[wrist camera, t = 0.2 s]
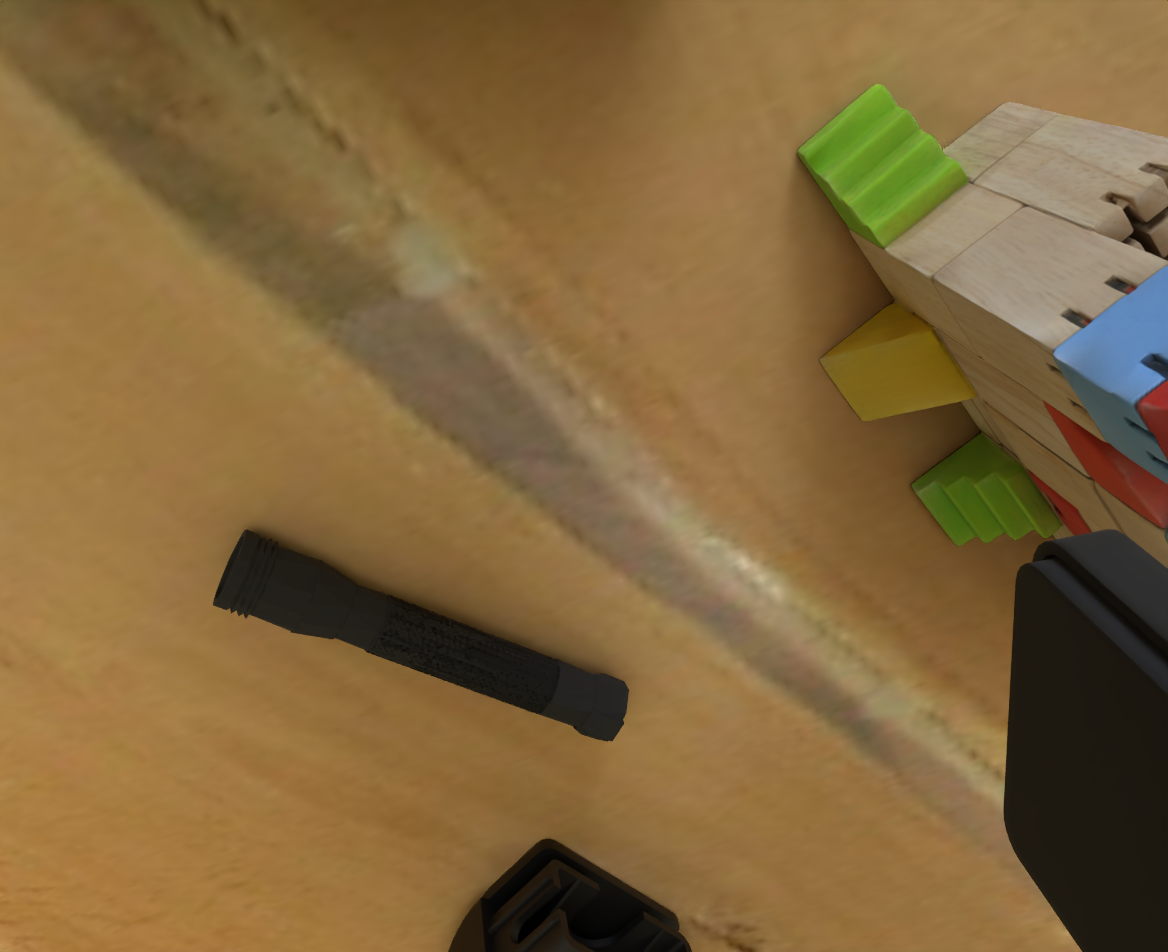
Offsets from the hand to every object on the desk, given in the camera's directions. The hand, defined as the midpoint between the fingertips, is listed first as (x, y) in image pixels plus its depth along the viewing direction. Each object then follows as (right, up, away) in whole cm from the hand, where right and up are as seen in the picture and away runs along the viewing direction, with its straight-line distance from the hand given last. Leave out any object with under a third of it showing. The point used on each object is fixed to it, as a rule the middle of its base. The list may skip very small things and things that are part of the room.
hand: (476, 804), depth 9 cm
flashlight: (-5, -3, +36) cm, 36 cm away
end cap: (0, -19, +44) cm, 48 cm away
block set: (+19, +7, +35) cm, 41 cm away
